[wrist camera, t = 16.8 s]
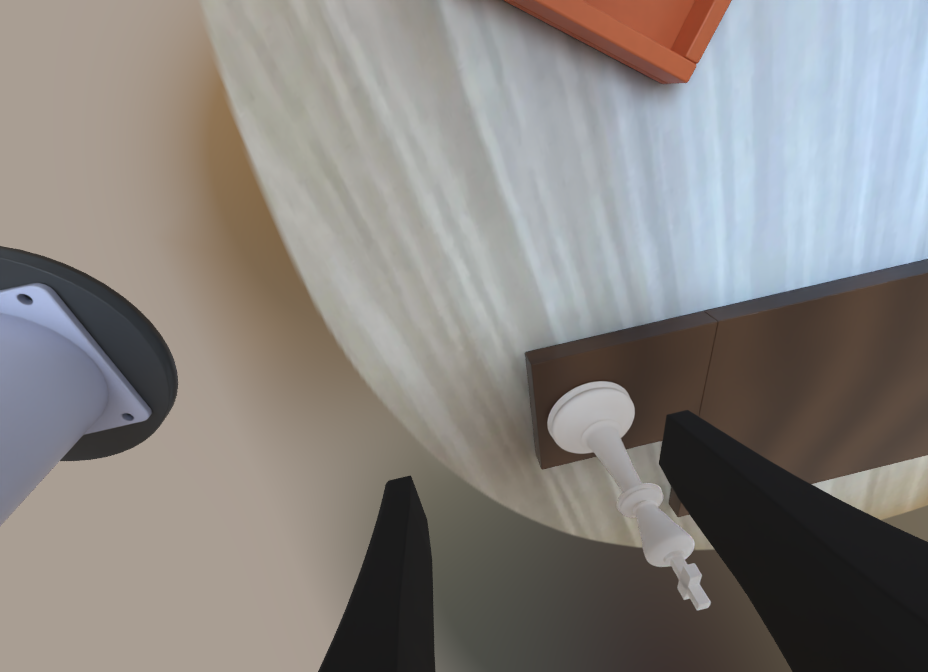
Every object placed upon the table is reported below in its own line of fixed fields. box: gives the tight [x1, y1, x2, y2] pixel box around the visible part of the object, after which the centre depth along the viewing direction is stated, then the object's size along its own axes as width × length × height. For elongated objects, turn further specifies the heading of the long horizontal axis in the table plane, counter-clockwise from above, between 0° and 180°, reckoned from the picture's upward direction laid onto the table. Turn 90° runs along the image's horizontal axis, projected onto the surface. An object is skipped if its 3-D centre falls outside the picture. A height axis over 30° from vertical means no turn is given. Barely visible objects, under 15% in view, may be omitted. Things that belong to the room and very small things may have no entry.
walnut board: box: [525, 259, 928, 517], centre depth 26 cm, size 32×18×1 cm, turn 100°
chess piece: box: [547, 381, 710, 610], centre depth 18 cm, size 5×5×10 cm
